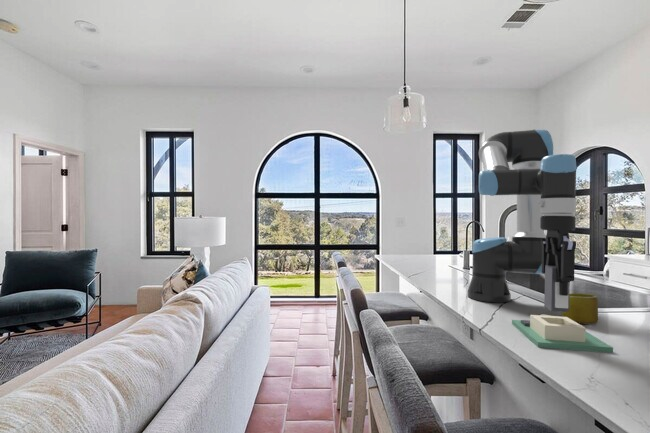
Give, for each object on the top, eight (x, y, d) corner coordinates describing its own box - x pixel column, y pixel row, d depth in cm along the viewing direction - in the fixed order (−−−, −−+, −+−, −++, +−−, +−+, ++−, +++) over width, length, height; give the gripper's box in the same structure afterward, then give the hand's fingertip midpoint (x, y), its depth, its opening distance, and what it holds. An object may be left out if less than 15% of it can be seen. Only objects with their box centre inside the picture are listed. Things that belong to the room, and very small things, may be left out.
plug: (543, 306, 90) (544, 265, 90) (560, 306, 90) (561, 265, 89) (551, 311, 86) (552, 268, 86) (568, 312, 85) (569, 268, 85)
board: (511, 323, 100) (512, 307, 100) (572, 327, 97) (572, 311, 97) (537, 347, 82) (538, 327, 82) (613, 352, 79) (613, 332, 79)
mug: (614, 322, 96) (598, 287, 99) (576, 330, 98) (561, 296, 101) (593, 318, 108) (579, 287, 110) (559, 325, 110) (546, 295, 112)
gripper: (528, 215, 97) (527, 296, 97) (557, 214, 80) (556, 313, 80) (557, 215, 95) (556, 297, 96) (593, 215, 78) (592, 315, 78)
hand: (556, 304), depth 88 cm, fingers closed on plug, 4 cm apart
